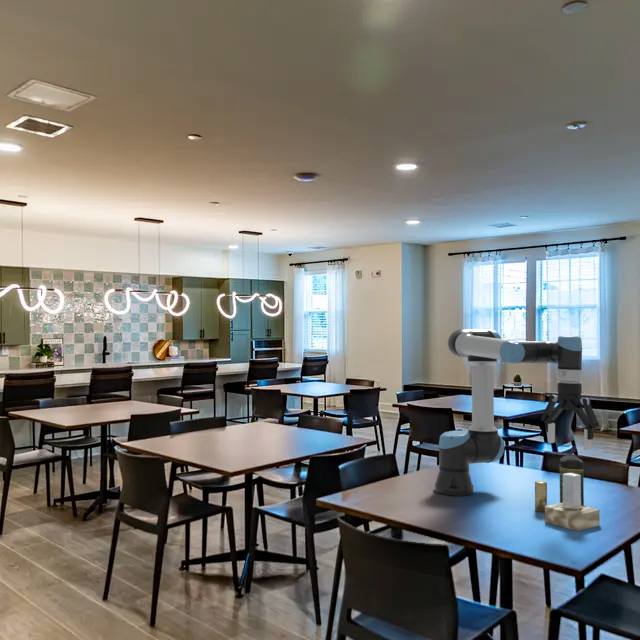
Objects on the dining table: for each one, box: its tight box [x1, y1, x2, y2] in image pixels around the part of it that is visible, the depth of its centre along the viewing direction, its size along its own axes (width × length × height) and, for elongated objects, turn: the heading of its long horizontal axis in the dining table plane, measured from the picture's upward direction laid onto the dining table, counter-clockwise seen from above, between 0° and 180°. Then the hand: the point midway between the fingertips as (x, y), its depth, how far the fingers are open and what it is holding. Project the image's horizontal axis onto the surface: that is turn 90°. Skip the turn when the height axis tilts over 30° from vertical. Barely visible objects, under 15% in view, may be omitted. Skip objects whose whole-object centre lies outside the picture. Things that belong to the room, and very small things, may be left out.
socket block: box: [544, 502, 601, 532], centre depth 203 cm, size 12×12×5 cm
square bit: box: [563, 473, 581, 511], centre depth 203 cm, size 4×4×14 cm
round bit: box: [534, 480, 548, 513], centre depth 218 cm, size 4×4×10 cm
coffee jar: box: [559, 455, 585, 506], centre depth 221 cm, size 10×8×19 cm
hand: (569, 446), depth 205 cm, fingers open, 13 cm apart
